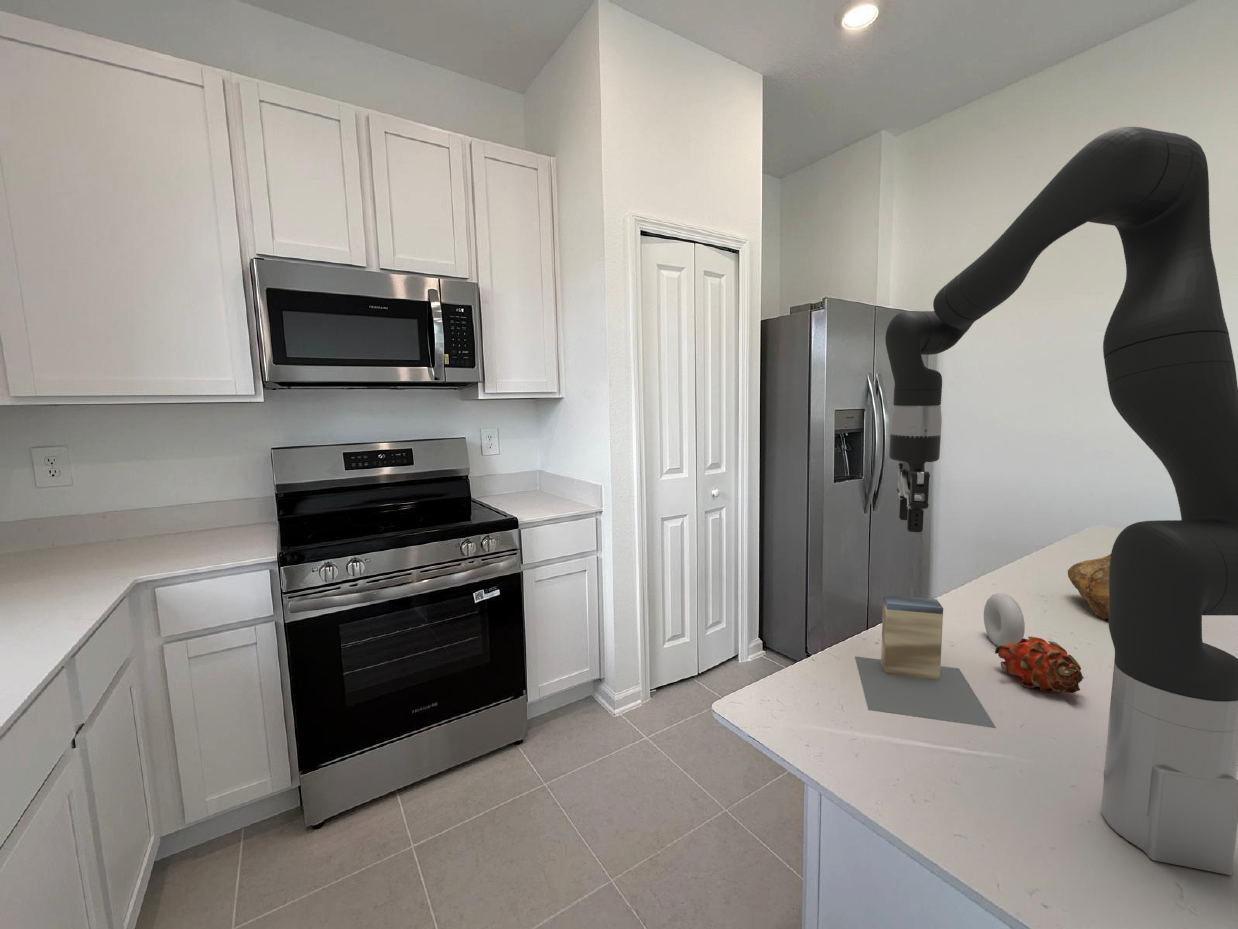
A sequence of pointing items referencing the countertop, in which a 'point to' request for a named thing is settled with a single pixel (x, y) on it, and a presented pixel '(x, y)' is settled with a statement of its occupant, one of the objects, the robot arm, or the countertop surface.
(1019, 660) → the dragon fruit
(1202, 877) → the countertop surface
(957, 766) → the countertop surface
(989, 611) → the donut
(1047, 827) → the countertop surface
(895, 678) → the rubber mat
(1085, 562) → the rough brown rock
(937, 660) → the maple block
